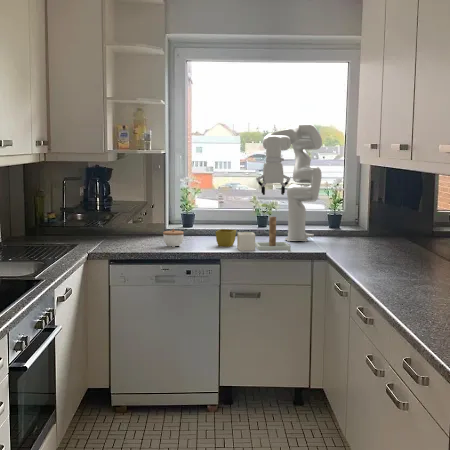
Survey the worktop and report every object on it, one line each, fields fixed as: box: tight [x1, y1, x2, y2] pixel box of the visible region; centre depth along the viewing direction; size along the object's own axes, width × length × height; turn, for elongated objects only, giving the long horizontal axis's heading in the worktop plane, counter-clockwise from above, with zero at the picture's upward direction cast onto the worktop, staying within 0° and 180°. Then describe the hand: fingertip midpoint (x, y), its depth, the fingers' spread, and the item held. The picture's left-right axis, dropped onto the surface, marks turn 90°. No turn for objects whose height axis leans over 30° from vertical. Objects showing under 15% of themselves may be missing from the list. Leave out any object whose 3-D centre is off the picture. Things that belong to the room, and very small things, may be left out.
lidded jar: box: [162, 228, 185, 248], centre depth 335 cm, size 11×11×9 cm
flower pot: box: [215, 228, 237, 248], centre depth 332 cm, size 9×9×9 cm
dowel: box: [268, 216, 277, 246], centre depth 326 cm, size 3×3×16 cm
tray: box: [255, 241, 292, 252], centre depth 327 cm, size 16×14×3 cm
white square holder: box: [236, 231, 256, 252], centre depth 321 cm, size 8×8×9 cm
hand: (273, 194), depth 323 cm, fingers open, 9 cm apart
